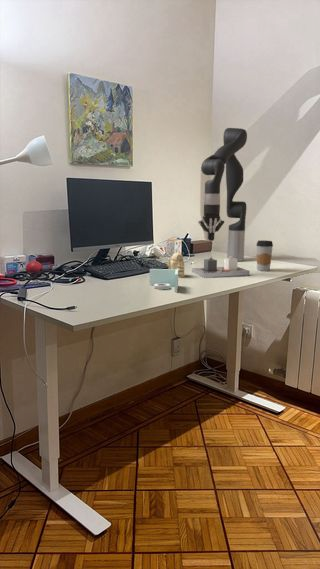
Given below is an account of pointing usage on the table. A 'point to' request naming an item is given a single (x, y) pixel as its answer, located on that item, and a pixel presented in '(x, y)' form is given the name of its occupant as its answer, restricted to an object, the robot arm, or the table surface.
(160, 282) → the l-shaped corner panel
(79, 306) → the table surface
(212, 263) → the grey plug
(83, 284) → the table surface
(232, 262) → the white plug
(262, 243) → the coffee cup
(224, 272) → the socket plate
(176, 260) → the robot
